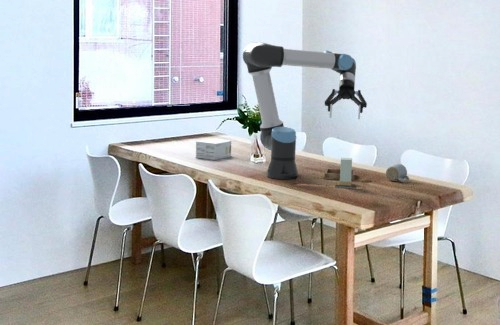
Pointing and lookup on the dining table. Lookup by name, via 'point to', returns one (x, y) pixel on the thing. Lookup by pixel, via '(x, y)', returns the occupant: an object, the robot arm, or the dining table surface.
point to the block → (345, 171)
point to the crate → (336, 174)
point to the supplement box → (213, 149)
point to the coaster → (344, 186)
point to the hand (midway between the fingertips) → (344, 116)
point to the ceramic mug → (397, 173)
